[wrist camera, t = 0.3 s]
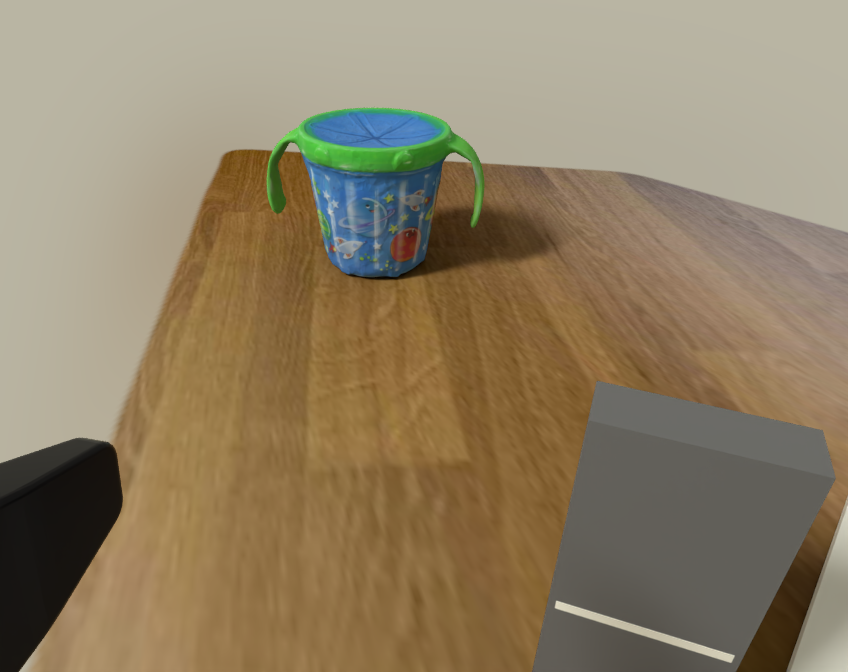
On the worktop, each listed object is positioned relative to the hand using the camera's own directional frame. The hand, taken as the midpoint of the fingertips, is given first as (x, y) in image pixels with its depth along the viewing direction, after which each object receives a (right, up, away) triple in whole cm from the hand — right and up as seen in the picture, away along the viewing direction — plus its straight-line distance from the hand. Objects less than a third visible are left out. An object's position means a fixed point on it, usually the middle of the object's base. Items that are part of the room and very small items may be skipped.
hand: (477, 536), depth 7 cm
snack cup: (-4, +8, +43) cm, 44 cm away
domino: (+5, -11, +14) cm, 19 cm away
